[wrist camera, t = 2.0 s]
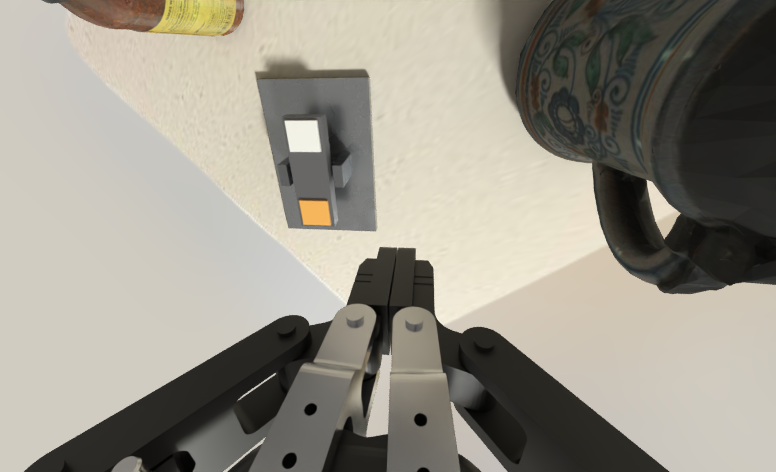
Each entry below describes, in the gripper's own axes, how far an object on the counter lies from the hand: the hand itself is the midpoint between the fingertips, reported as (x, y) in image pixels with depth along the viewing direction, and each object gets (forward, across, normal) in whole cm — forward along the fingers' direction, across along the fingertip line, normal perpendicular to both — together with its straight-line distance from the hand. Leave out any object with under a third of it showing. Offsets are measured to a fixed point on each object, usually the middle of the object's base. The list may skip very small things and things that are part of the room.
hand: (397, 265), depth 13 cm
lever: (+21, +11, +3) cm, 24 cm away
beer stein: (+25, -18, -5) cm, 31 cm away
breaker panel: (+25, +11, +3) cm, 28 cm away
